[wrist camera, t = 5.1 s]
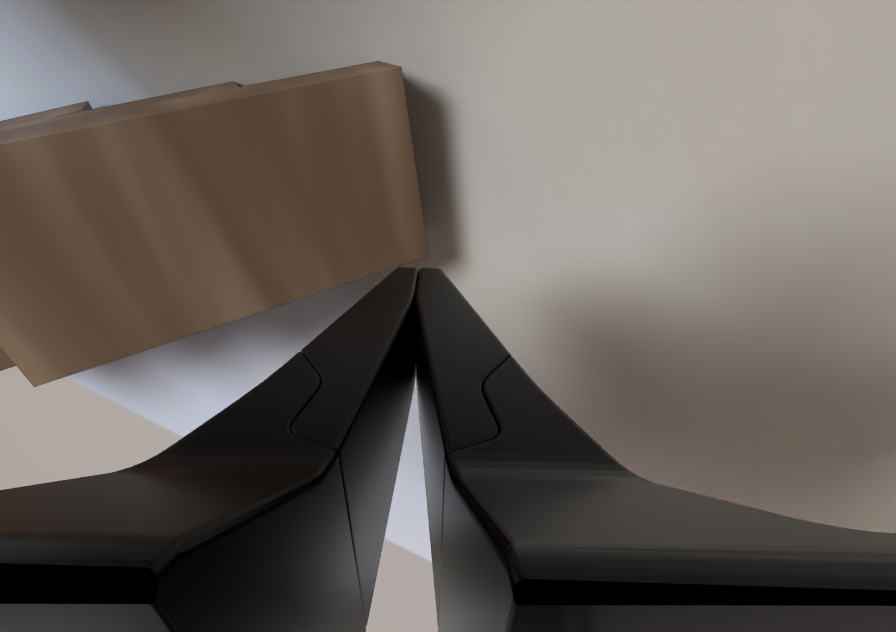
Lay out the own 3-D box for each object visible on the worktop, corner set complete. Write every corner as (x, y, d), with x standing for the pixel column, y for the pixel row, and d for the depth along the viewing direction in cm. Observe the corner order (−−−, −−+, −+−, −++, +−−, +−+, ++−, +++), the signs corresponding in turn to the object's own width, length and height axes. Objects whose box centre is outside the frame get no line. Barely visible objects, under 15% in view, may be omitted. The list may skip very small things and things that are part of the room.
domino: (401, 67, 11) (-146, 172, 8) (428, 256, 14) (33, 387, 11) (378, 60, 12) (-105, 150, 9) (407, 236, 15) (46, 349, 12)
